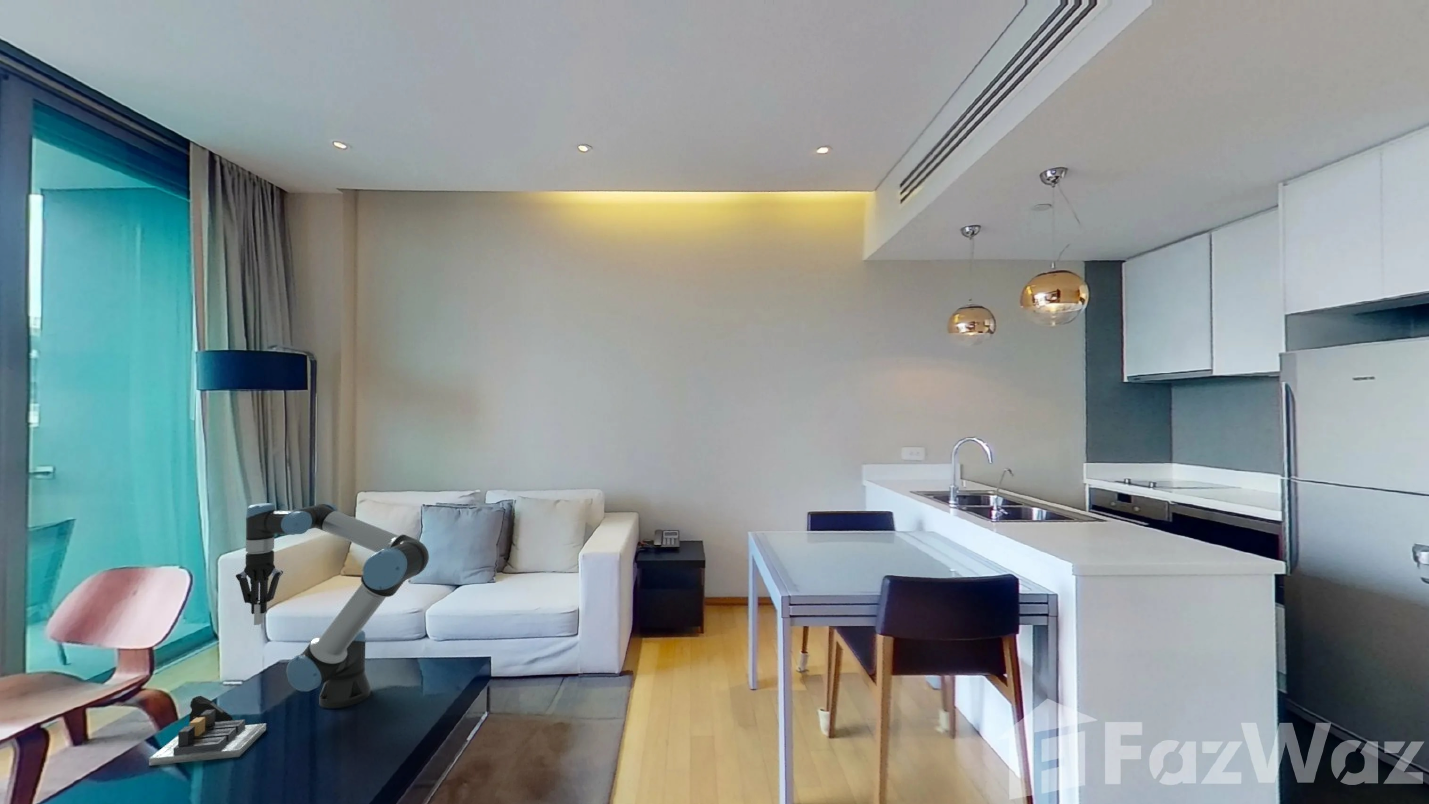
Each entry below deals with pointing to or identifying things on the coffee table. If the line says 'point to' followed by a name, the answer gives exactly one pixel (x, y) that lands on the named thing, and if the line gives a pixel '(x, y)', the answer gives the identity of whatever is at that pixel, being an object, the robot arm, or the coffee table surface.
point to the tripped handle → (198, 725)
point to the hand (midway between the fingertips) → (258, 623)
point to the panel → (209, 741)
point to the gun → (203, 704)
